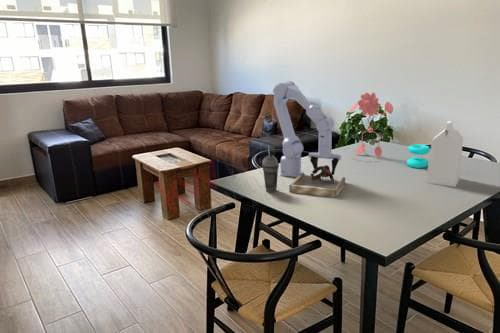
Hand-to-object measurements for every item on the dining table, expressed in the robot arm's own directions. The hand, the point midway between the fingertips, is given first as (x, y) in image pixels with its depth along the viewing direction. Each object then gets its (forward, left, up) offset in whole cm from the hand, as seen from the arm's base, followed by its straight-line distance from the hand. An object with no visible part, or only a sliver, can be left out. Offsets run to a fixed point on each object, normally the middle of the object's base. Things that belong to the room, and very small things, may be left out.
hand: (324, 173), depth 174 cm
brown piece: (0, -3, -3) cm, 4 cm away
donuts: (+38, +34, -3) cm, 51 cm away
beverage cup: (-18, -21, -3) cm, 28 cm away
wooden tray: (0, -11, -3) cm, 12 cm away
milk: (+49, +14, -3) cm, 51 cm away
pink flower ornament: (+12, +42, -3) cm, 44 cm away
